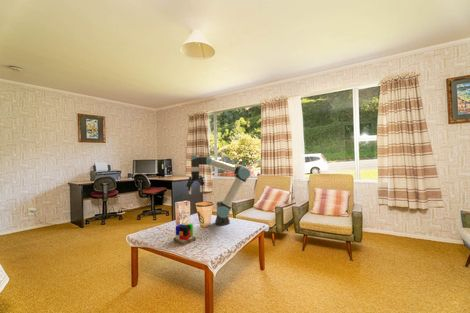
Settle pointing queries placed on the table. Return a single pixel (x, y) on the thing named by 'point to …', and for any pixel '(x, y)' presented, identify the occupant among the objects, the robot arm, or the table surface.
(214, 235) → the table surface
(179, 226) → the puzzle toy
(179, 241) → the plinth
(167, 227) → the table surface
